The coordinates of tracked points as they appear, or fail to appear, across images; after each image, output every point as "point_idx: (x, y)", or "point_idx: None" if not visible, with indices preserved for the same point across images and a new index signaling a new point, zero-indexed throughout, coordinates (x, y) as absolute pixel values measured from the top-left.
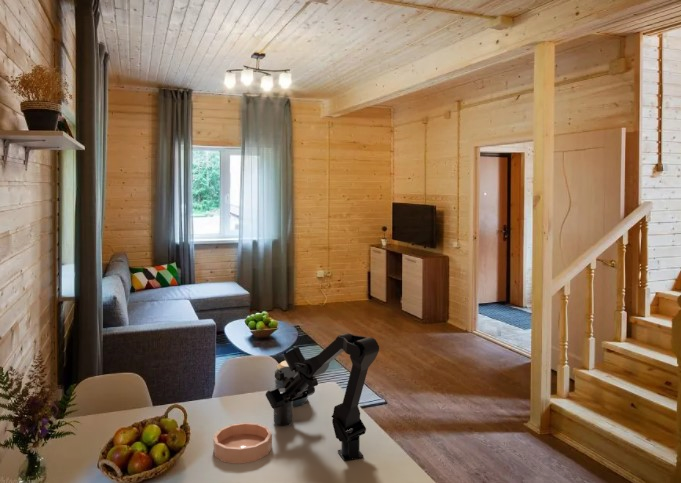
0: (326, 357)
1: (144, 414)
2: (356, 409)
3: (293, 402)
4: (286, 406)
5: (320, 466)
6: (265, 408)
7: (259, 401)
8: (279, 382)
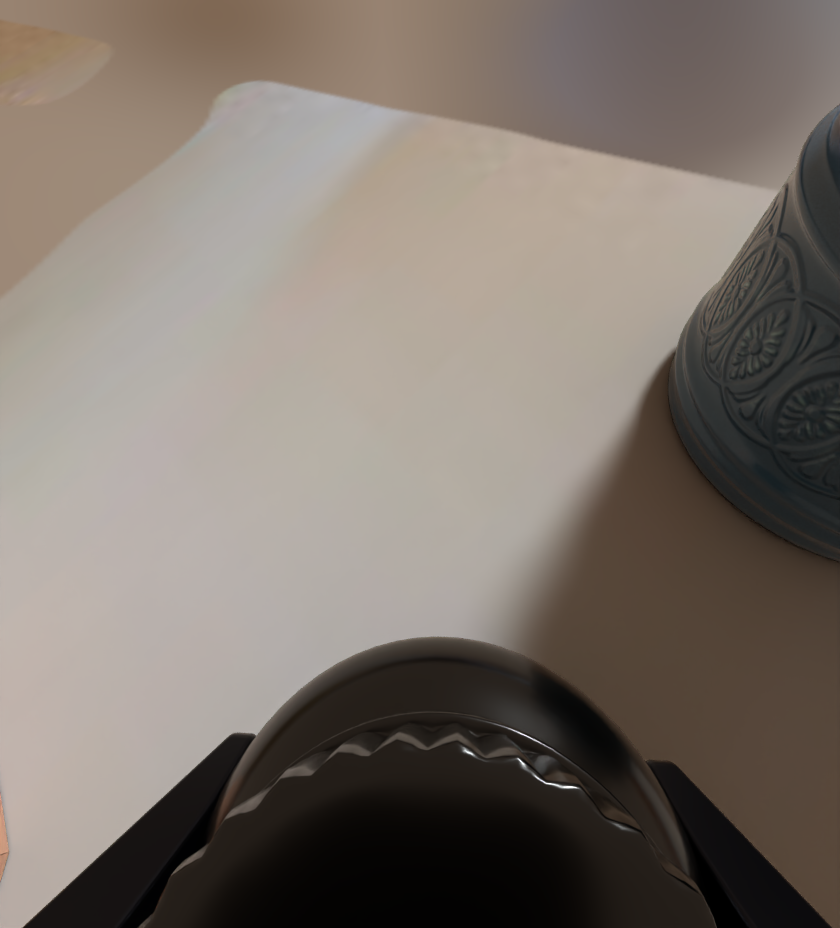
0: None
1: (43, 80)
2: None
3: (818, 528)
4: None
5: None
6: (528, 383)
7: (571, 267)
8: None
